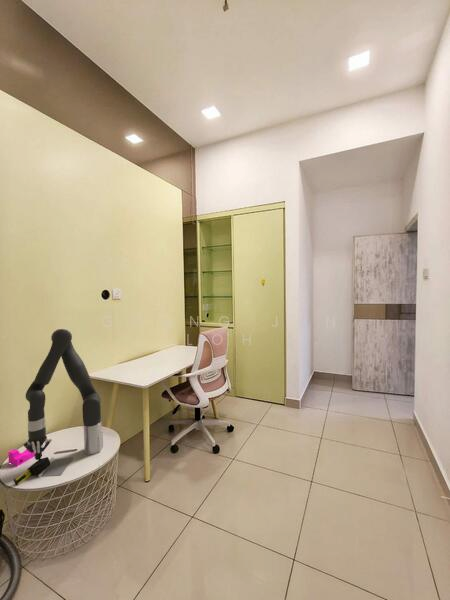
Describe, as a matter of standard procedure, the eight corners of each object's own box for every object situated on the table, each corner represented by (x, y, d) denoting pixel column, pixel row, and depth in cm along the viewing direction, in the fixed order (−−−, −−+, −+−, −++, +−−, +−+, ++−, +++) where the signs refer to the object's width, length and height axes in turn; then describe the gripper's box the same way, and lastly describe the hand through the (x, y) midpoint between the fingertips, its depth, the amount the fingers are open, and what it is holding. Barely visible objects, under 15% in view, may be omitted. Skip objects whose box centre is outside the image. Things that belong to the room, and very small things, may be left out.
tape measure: (40, 458, 141) (51, 455, 139) (43, 466, 141) (54, 463, 139) (12, 479, 127) (24, 476, 125) (16, 487, 127) (28, 484, 125)
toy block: (17, 467, 141) (16, 454, 141) (8, 465, 143) (8, 452, 142) (43, 450, 156) (43, 438, 155) (35, 449, 157) (35, 436, 157)
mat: (72, 457, 148) (72, 455, 148) (61, 475, 135) (60, 472, 135) (52, 459, 147) (52, 457, 147) (38, 477, 133) (38, 474, 133)
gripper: (54, 422, 143) (55, 453, 144) (27, 424, 141) (29, 455, 142) (46, 429, 136) (48, 462, 137) (18, 431, 134) (20, 465, 135)
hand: (38, 458), depth 139 cm, fingers closed
